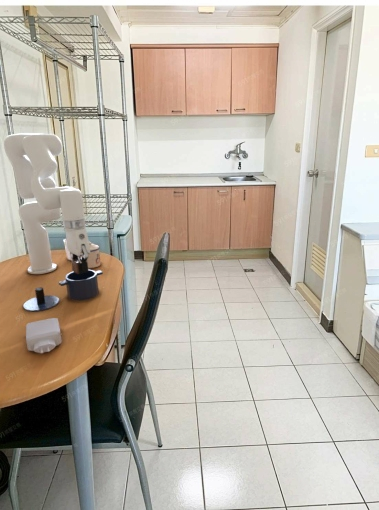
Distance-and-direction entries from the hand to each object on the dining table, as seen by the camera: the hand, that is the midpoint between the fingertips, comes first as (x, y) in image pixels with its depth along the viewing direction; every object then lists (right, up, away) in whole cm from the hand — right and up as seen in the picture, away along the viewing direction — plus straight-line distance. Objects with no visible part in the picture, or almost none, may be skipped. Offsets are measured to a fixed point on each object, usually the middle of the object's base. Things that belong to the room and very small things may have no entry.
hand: (80, 270), depth 131 cm
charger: (-1, -21, -29) cm, 36 cm away
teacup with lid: (-6, +1, +37) cm, 37 cm away
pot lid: (-13, -12, -4) cm, 18 cm away
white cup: (-18, +4, +46) cm, 49 cm away
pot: (0, -10, +3) cm, 10 cm away
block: (0, 0, 0) cm, 0 cm away
